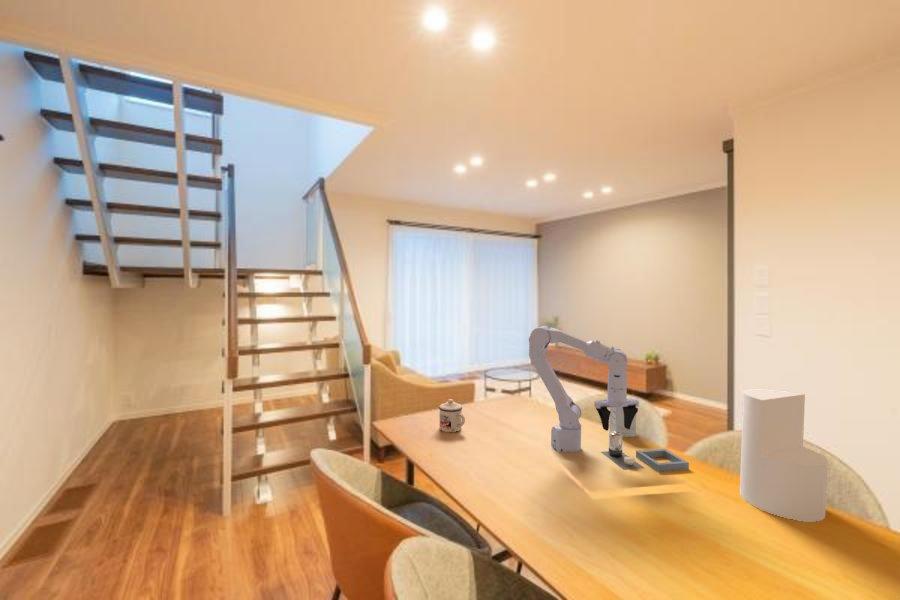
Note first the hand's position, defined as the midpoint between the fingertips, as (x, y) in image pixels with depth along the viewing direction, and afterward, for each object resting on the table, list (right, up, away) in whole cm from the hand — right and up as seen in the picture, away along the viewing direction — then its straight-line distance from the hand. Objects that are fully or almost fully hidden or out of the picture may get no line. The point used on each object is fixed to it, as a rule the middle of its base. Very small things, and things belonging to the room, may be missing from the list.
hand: (616, 428), depth 130 cm
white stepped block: (+33, -12, -25) cm, 43 cm away
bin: (+12, -10, -5) cm, 17 cm away
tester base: (0, -10, -3) cm, 11 cm away
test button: (+1, -9, -7) cm, 12 cm away
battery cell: (0, -9, 0) cm, 9 cm away
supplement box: (+11, -10, +20) cm, 25 cm away
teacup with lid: (-53, -9, +26) cm, 60 cm away
